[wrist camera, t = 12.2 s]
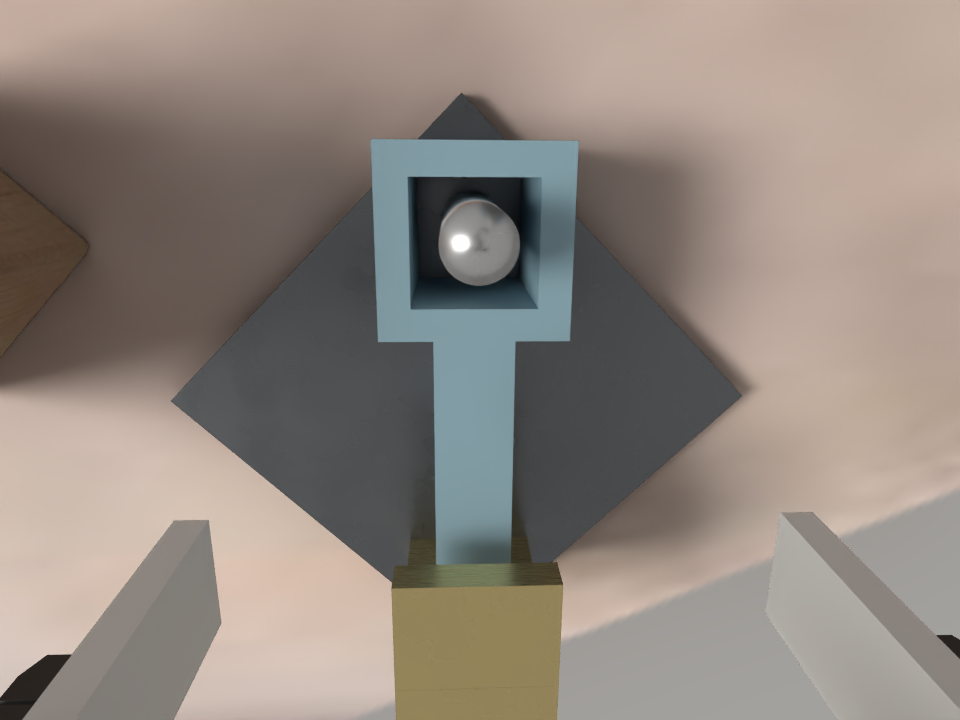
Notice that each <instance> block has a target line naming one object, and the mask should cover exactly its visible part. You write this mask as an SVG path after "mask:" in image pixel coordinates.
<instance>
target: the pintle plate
mask: <svg viewBox="0 0 960 720" xmlns="http://www.w3.org/2000/svg"><path fill="white" fill-rule="evenodd" d="M417 140H505V139H504V138H503V137H502V136H501V135H500V134H499V133H498V132H497V131H496V130H495V128H494V127H493V126H492V125H491V124H490V123H489V122H488V121H487V120H486V119H485V118H484V117H483V115H482V114H481V113H480V112H479V111H478V110H477V109H476V108H475V107H474V106H473V105H472V104H471V103H470V101H469V100H468V99H467V98H466V97H465V96H464V95H463V94H462V93H461V94H460V95H459V96H458V97H457V98H456V99H455V100H454V101H453V102H452V103H451V104H450V105H449V106H448V108H447V109H446V110H445V111H444V112H443V113H442V114H441V115H440V116H439V117H438V118H437V119H436V120H435V121H434V122H433V123H432V125H431V126H430V127H429V128H428V129H427V130H426V131H425V132H424V133H423V134H422V135H421V136H420V137H419V138H418V139H417ZM520 207H521V177H417V214H418V267H419V278H456V279H458V280H459V281H461V282H463V283H466V284H469V285H475V286H483V285H489V284H492V283H495V282H497V281H499V280H500V279H502V278H519V251H520ZM741 396H742V395H741V394H740V393H739V392H738V391H737V390H736V389H735V388H734V386H733V385H732V384H731V383H730V382H729V381H728V380H727V379H726V378H725V377H724V376H723V375H722V373H721V372H720V371H719V370H718V369H717V368H716V367H715V366H714V365H713V364H712V363H711V362H710V361H709V359H708V358H707V357H706V356H705V355H704V354H703V353H702V352H701V351H700V350H699V349H698V348H697V347H696V345H695V344H694V343H693V342H692V341H691V340H690V339H689V338H688V337H687V336H686V335H685V334H684V332H683V331H682V330H681V329H680V328H679V327H678V326H677V325H676V324H675V323H674V322H673V321H672V320H671V318H670V317H669V316H668V315H667V314H666V313H665V312H664V311H663V310H662V309H661V308H660V307H659V305H658V304H657V303H656V302H655V301H654V300H653V299H652V298H651V297H650V296H649V295H648V294H647V293H646V291H645V290H644V289H643V288H642V287H641V286H640V285H639V284H638V283H637V282H636V281H635V280H634V278H633V277H632V276H631V275H630V274H629V273H628V272H627V271H626V270H625V269H624V268H623V267H622V266H621V264H620V263H619V262H618V261H617V260H616V259H615V258H614V257H613V256H612V255H611V254H610V253H609V252H608V250H607V249H606V248H605V247H604V246H603V245H602V244H601V243H600V242H599V241H598V240H597V239H596V237H595V236H594V235H593V234H592V233H591V232H590V231H589V230H588V229H587V228H586V227H585V226H584V225H583V223H582V222H581V221H580V220H579V219H578V218H577V217H576V216H575V236H574V258H573V281H572V303H571V325H570V341H515V387H514V433H513V479H512V525H511V563H506V564H456V565H436V509H435V433H434V356H433V342H378V328H377V301H376V273H375V246H374V218H373V191H372V188H371V189H370V190H369V191H368V192H367V193H366V195H365V196H364V197H363V198H362V199H361V200H360V201H359V202H358V203H357V204H356V205H355V206H354V207H353V208H352V209H351V210H350V211H349V213H348V214H347V215H346V216H345V217H344V218H343V219H342V220H341V221H340V222H339V223H338V224H337V225H336V226H335V227H334V228H333V230H332V231H331V232H330V233H329V234H328V235H327V236H326V237H325V238H324V239H323V240H322V241H321V242H320V243H319V244H318V245H317V246H316V248H315V249H314V250H313V251H312V252H311V253H310V254H309V255H308V256H307V257H306V258H305V259H304V260H303V261H302V262H301V263H300V264H299V266H298V267H297V268H296V269H295V270H294V271H293V272H292V273H291V274H290V275H289V276H288V277H287V278H286V279H285V280H284V281H283V283H282V284H281V285H280V286H279V287H278V288H277V289H276V290H275V291H274V292H273V293H272V294H271V295H270V296H269V297H268V298H267V299H266V301H265V302H264V303H263V304H262V305H261V306H260V307H259V308H258V309H257V310H256V311H255V312H254V313H253V314H252V315H251V316H250V318H249V319H248V320H247V321H246V322H245V323H244V324H243V325H242V326H241V327H240V328H239V329H238V330H237V331H236V332H235V333H234V334H233V336H232V337H231V338H230V339H229V340H228V341H227V342H226V343H225V344H224V345H223V346H222V347H221V348H220V349H219V350H218V351H217V353H216V354H215V355H214V356H213V357H212V358H211V359H210V360H209V361H208V362H207V363H206V364H205V365H204V366H203V367H202V368H201V369H200V371H199V372H198V373H197V374H196V375H195V376H194V377H193V378H192V379H191V380H190V381H189V382H188V383H187V384H186V385H185V386H184V388H183V389H182V390H181V391H180V392H179V393H178V394H177V395H176V396H175V397H174V398H173V399H172V400H171V402H172V403H174V404H175V405H176V406H177V407H179V408H180V409H181V410H182V411H183V412H185V413H186V414H187V415H188V416H190V417H191V418H192V419H193V420H194V421H196V422H197V423H198V424H199V425H201V426H202V427H203V428H204V429H205V430H207V431H208V432H209V433H210V434H212V435H213V436H214V437H215V438H216V439H218V440H219V441H220V442H221V443H222V444H224V445H225V446H226V447H227V448H229V449H230V450H231V451H232V452H233V453H235V454H236V455H237V456H238V457H240V458H241V459H242V460H243V461H244V462H246V463H247V464H248V465H249V466H251V467H252V468H253V469H254V470H255V471H257V472H258V473H259V474H260V475H262V476H263V477H264V478H265V479H266V480H268V481H269V482H270V483H271V484H273V485H274V486H275V487H276V488H277V489H279V490H280V491H281V492H282V493H284V494H285V495H286V496H287V497H288V498H290V499H291V500H292V501H293V502H294V503H296V504H297V505H298V506H299V507H301V508H302V509H303V510H304V511H305V512H307V513H308V514H309V515H310V516H312V517H313V518H314V519H315V520H316V521H318V522H319V523H320V524H321V525H323V526H324V527H325V528H326V529H327V530H329V531H330V532H331V533H332V534H334V535H335V536H336V537H337V538H338V539H340V540H341V541H342V542H343V543H345V544H346V545H347V546H348V547H349V548H351V549H352V550H353V551H354V552H356V553H357V554H358V555H359V556H360V557H362V558H363V559H364V560H365V561H367V562H368V563H369V564H370V565H371V566H373V567H374V568H375V569H376V570H377V571H379V572H380V573H381V574H382V575H384V576H385V577H386V578H387V579H388V580H390V581H391V582H392V616H393V645H394V673H395V702H396V720H557V707H558V685H559V663H560V642H561V621H562V599H563V583H562V579H561V575H560V572H559V568H558V564H557V562H555V563H551V562H552V561H553V560H554V559H556V558H557V557H558V556H559V555H560V554H561V553H562V552H564V551H565V550H566V549H567V548H568V547H569V546H571V545H572V544H573V543H574V542H575V541H576V540H577V539H579V538H580V537H581V536H582V535H583V534H584V533H585V532H587V531H588V530H589V529H590V528H591V527H592V526H593V525H595V524H596V523H597V522H598V521H599V520H600V519H601V518H603V517H604V516H605V515H606V514H607V513H608V512H610V511H611V510H612V509H613V508H614V507H615V506H616V505H618V504H619V503H620V502H621V501H622V500H623V499H624V498H626V497H627V496H628V495H629V494H630V493H631V492H632V491H634V490H635V489H636V488H637V487H638V486H639V485H640V484H642V483H643V482H644V481H645V480H646V479H647V478H649V477H650V476H651V475H652V474H653V473H654V472H655V471H657V470H658V469H659V468H660V467H661V466H662V465H663V464H665V463H666V462H667V461H668V460H669V459H670V458H671V457H673V456H674V455H675V454H676V453H677V452H678V451H680V450H681V449H682V448H683V447H684V446H685V445H686V444H688V443H689V442H690V441H691V440H692V439H693V438H694V437H696V436H697V435H698V434H699V433H700V432H701V431H702V430H704V429H705V428H706V427H707V426H708V425H709V424H710V423H712V422H713V421H714V420H715V419H716V418H717V417H719V416H720V415H721V414H722V413H723V412H724V411H725V410H727V409H728V408H729V407H730V406H731V405H732V404H733V403H735V402H736V401H737V400H738V399H739V398H740V397H741Z"/></svg>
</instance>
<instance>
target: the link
mask: <svg viewBox="0 0 960 720" xmlns="http://www.w3.org/2000/svg"><path fill="white" fill-rule="evenodd" d="M578 147H579V141H535V140H415V139H371V164H372V191H373V218H374V246H375V273H376V301H377V328H378V342H433V356H434V433H435V509H436V565H456V564H506V563H511V525H512V479H513V433H514V387H515V341H570V325H571V303H572V281H573V258H574V236H575V214H576V191H577V169H578ZM417 177H521V207H520V251H519V278H502V279H500V280H499V281H497V282H495V283H492V284H489V285H483V286H475V285H469V284H466V283H463V282H461V281H459V280H458V279H456V278H419V267H418V214H417Z"/></svg>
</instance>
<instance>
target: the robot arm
mask: <svg viewBox="0 0 960 720" xmlns="http://www.w3.org/2000/svg"><path fill="white" fill-rule="evenodd" d="M765 613H766V615H767V616H768V618H769V619H770V621H771V622H772V624H773V625H774V627H775V628H776V630H777V631H778V633H779V634H780V636H781V637H782V639H783V640H784V642H785V643H786V644H787V646H788V647H789V649H790V650H791V652H792V653H793V655H794V656H795V658H796V659H797V661H798V662H799V664H800V665H801V667H802V668H803V670H804V671H805V672H806V674H807V675H808V677H809V678H810V680H811V681H812V683H813V684H814V686H815V687H816V689H817V690H818V692H819V693H820V695H821V696H822V697H823V699H824V700H825V702H826V704H827V705H828V706H829V708H830V709H831V711H832V712H833V714H834V715H835V717H836V718H837V720H960V640H959V639H957V638H956V637H954V636H952V635H935V634H934V633H933V632H932V631H931V630H930V629H929V628H928V627H927V626H926V625H925V624H924V623H923V622H922V621H921V620H920V619H919V618H918V617H917V616H916V615H915V614H914V613H913V612H912V611H911V610H910V609H909V608H908V607H907V606H906V605H905V604H904V603H903V602H902V601H901V600H900V599H899V598H898V597H897V596H896V595H895V594H894V593H893V592H892V591H891V590H890V589H889V588H888V587H887V586H886V585H885V584H884V583H883V582H882V581H881V580H880V579H879V578H878V577H877V576H876V575H875V574H874V573H873V572H872V571H871V570H870V569H869V568H868V567H867V566H866V565H865V564H864V563H863V562H862V561H861V560H860V559H859V558H858V557H857V556H856V555H855V554H854V553H853V552H852V551H851V550H850V549H849V548H848V547H847V546H846V545H845V544H844V543H843V542H842V541H841V540H840V539H839V538H838V537H837V536H836V535H835V534H834V533H833V532H832V531H831V530H830V529H829V528H828V527H827V526H826V525H825V524H824V523H823V522H822V521H821V520H820V519H819V518H818V517H817V516H816V515H815V514H814V513H813V512H797V513H780V520H779V526H778V533H777V539H776V546H775V553H774V559H773V566H772V573H771V579H770V585H769V592H768V599H767V606H766V612H765ZM220 625H221V616H220V608H219V600H218V592H217V584H216V576H215V568H214V560H213V552H212V544H211V536H210V527H209V520H182V521H173V523H172V524H171V525H170V527H169V528H168V529H167V531H166V532H165V533H164V534H163V536H162V537H161V538H160V540H159V541H158V542H157V544H156V545H155V546H154V548H153V549H152V550H151V552H150V553H149V554H148V555H147V557H146V558H145V559H144V561H143V562H142V563H141V565H140V566H139V567H138V569H137V570H136V571H135V573H134V574H133V575H132V576H131V578H130V579H129V580H128V582H127V583H126V584H125V586H124V587H123V588H122V590H121V591H120V592H119V594H118V595H117V596H116V597H115V599H114V600H113V601H112V603H111V604H110V605H109V607H108V608H107V609H106V611H105V612H104V613H103V615H102V616H101V617H100V618H99V620H98V621H97V622H96V624H95V625H94V626H93V628H92V629H91V630H90V632H89V633H88V634H87V636H86V637H85V638H84V639H83V641H82V642H81V643H80V645H79V646H78V647H77V649H76V650H75V651H74V653H73V654H72V655H47V656H45V657H44V658H43V659H41V660H40V661H38V662H37V663H36V664H34V665H33V666H32V667H30V668H29V669H27V670H26V671H25V672H23V673H22V674H21V675H19V676H18V677H17V678H16V679H15V681H14V682H13V683H12V684H11V685H10V687H9V688H8V689H7V690H6V691H5V693H4V694H3V695H2V696H1V697H0V720H174V718H175V716H176V714H177V712H178V710H179V708H180V706H181V704H182V702H183V700H184V698H185V696H186V694H187V692H188V690H189V688H190V686H191V684H192V682H193V680H194V678H195V676H196V674H197V672H198V669H199V667H200V665H201V663H202V661H203V659H204V657H205V655H206V653H207V651H208V649H209V647H210V645H211V643H212V641H213V639H214V637H215V635H216V633H217V631H218V629H219V627H220Z"/></svg>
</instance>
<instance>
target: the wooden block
mask: <svg viewBox="0 0 960 720" xmlns="http://www.w3.org/2000/svg"><path fill="white" fill-rule="evenodd" d="M87 249H88V245H87V243H86V242H85V240H83V239H82V238H81V237H80V236H79V235H77V234H76V233H75V232H74V231H73V230H71V229H70V228H69V227H68V226H67V225H65V224H64V223H63V222H62V221H61V220H59V219H58V218H57V217H56V216H55V215H53V214H52V213H51V212H50V211H49V210H47V209H46V208H45V207H44V206H43V205H41V204H40V203H39V202H38V201H37V200H35V199H34V198H33V197H32V196H31V195H29V194H28V193H27V192H26V191H25V190H23V189H22V188H21V187H20V186H18V185H17V184H16V183H15V182H14V181H12V180H11V179H10V178H9V177H8V176H6V175H5V174H4V173H3V172H2V171H0V357H1V356H2V354H3V353H4V352H5V351H6V350H7V348H8V347H9V346H10V345H11V343H12V342H13V341H14V340H15V339H16V337H17V336H18V335H19V334H20V333H21V331H22V330H23V329H24V328H25V327H26V325H27V324H28V323H29V322H30V321H31V319H32V318H33V317H34V316H35V315H36V313H37V312H38V311H39V310H40V309H41V307H42V306H43V305H44V304H45V303H46V301H47V300H48V299H49V298H50V297H51V295H52V294H53V293H54V292H55V291H56V289H57V288H58V287H59V286H60V285H61V283H62V282H63V281H64V280H65V279H66V277H67V276H68V275H69V274H70V273H71V271H72V270H73V269H74V268H75V267H76V265H77V264H78V263H79V262H80V261H81V259H82V258H83V257H84V256H85V254H86V252H87Z"/></svg>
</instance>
